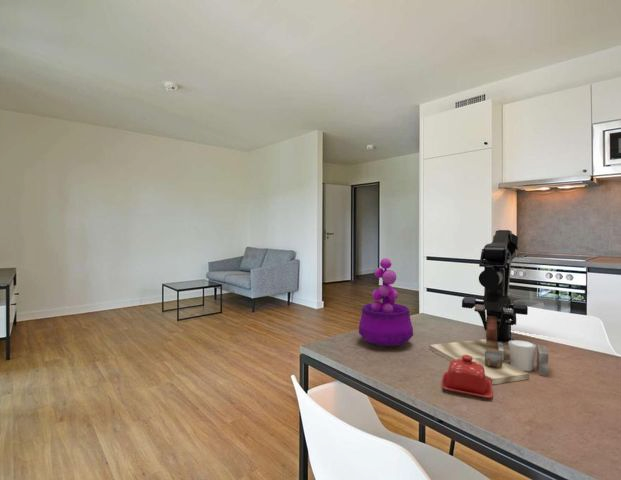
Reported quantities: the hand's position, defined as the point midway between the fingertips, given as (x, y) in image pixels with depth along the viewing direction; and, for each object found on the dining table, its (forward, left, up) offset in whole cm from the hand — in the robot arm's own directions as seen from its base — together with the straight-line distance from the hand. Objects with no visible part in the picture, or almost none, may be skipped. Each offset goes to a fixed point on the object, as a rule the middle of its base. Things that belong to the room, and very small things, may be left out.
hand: (492, 331), depth 114 cm
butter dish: (+26, +20, -7) cm, 34 cm away
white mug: (+2, +13, -7) cm, 15 cm away
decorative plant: (+30, -17, -7) cm, 35 cm away
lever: (+6, +7, -4) cm, 10 cm away
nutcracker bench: (+7, +7, -7) cm, 12 cm away
